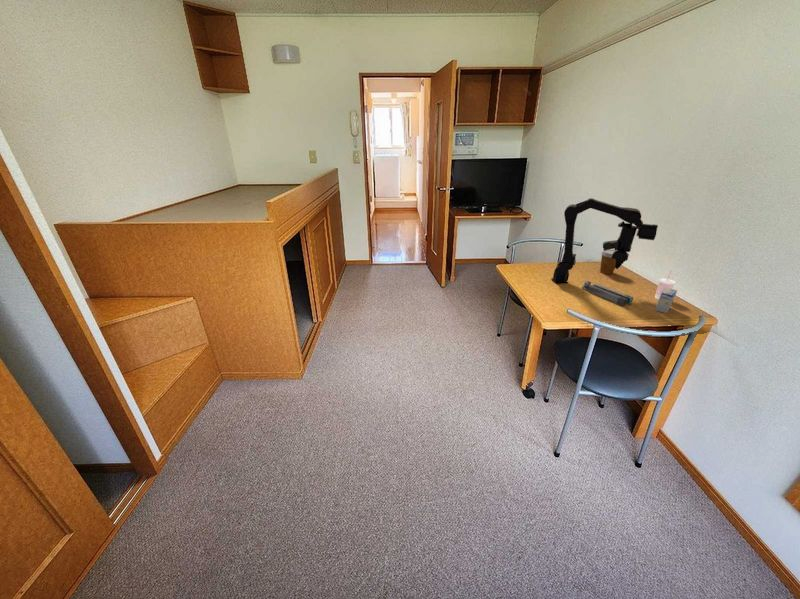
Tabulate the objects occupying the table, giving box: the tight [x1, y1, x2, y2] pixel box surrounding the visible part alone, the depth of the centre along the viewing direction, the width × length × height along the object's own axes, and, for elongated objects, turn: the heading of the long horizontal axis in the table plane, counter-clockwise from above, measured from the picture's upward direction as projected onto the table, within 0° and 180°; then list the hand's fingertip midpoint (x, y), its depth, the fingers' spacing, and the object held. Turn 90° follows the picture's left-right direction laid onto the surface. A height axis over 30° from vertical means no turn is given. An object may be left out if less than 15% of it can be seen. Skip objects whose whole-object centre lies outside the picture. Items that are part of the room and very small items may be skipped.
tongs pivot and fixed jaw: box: [581, 280, 628, 307], centre depth 160 cm, size 23×5×4 cm, turn 25°
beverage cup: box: [654, 270, 676, 300], centre depth 154 cm, size 6×6×14 cm
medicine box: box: [654, 288, 678, 314], centre depth 145 cm, size 8×4×9 cm, turn 135°
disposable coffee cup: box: [599, 249, 617, 275], centre depth 184 cm, size 10×10×12 cm
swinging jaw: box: [592, 283, 635, 305], centre depth 159 cm, size 18×3×3 cm, turn 28°
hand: (616, 268), depth 161 cm, fingers closed
